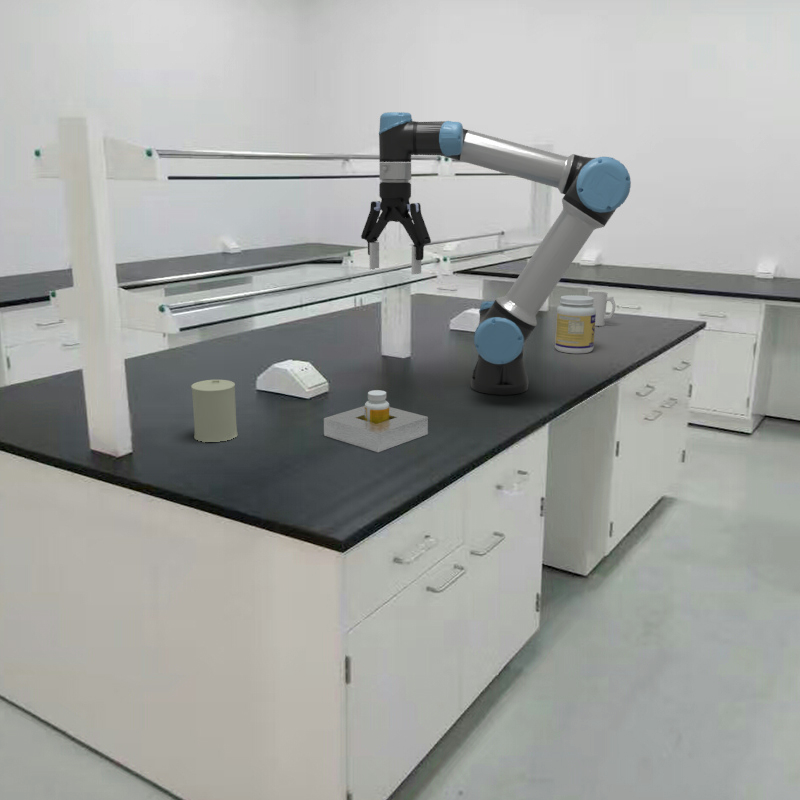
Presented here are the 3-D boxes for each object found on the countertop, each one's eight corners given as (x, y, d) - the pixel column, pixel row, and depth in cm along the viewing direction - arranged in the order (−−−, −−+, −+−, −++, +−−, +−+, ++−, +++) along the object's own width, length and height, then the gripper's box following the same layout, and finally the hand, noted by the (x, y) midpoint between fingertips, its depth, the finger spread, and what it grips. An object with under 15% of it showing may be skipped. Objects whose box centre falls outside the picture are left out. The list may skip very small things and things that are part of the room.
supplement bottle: (359, 434, 182) (359, 392, 179) (376, 429, 186) (376, 387, 183) (377, 440, 179) (377, 397, 176) (394, 434, 182) (394, 392, 180)
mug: (584, 326, 305) (586, 293, 301) (588, 323, 310) (591, 290, 307) (611, 328, 300) (614, 295, 297) (615, 325, 306) (618, 292, 303)
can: (240, 429, 185) (238, 377, 182) (234, 443, 176) (231, 388, 173) (198, 429, 185) (195, 377, 182) (190, 443, 176) (186, 388, 173)
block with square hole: (374, 419, 193) (374, 402, 192) (427, 434, 183) (427, 416, 182) (324, 435, 181) (323, 418, 180) (377, 452, 171) (377, 433, 170)
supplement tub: (596, 354, 259) (600, 300, 255) (557, 354, 260) (560, 300, 255) (589, 346, 271) (592, 294, 266) (551, 345, 271) (554, 294, 267)
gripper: (346, 180, 202) (347, 268, 208) (426, 182, 187) (424, 277, 193) (367, 180, 208) (368, 265, 214) (446, 182, 192) (444, 274, 198)
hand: (394, 271), depth 203 cm, fingers open, 13 cm apart
